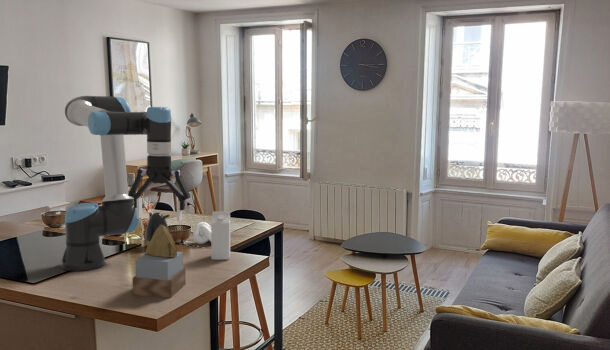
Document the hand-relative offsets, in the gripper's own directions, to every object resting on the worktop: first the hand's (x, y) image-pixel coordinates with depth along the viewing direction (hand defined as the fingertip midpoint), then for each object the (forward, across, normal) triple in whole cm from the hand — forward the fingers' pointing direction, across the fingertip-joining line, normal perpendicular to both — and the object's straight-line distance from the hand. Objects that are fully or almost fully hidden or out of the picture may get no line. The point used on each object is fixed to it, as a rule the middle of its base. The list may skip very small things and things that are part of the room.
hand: (159, 218), depth 174 cm
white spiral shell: (+24, -3, +62) cm, 66 cm away
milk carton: (+24, +10, +40) cm, 48 cm away
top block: (+18, 0, -1) cm, 18 cm away
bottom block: (+24, 0, -1) cm, 24 cm away
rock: (+12, +1, -1) cm, 12 cm away
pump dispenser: (+24, -21, +51) cm, 60 cm away
